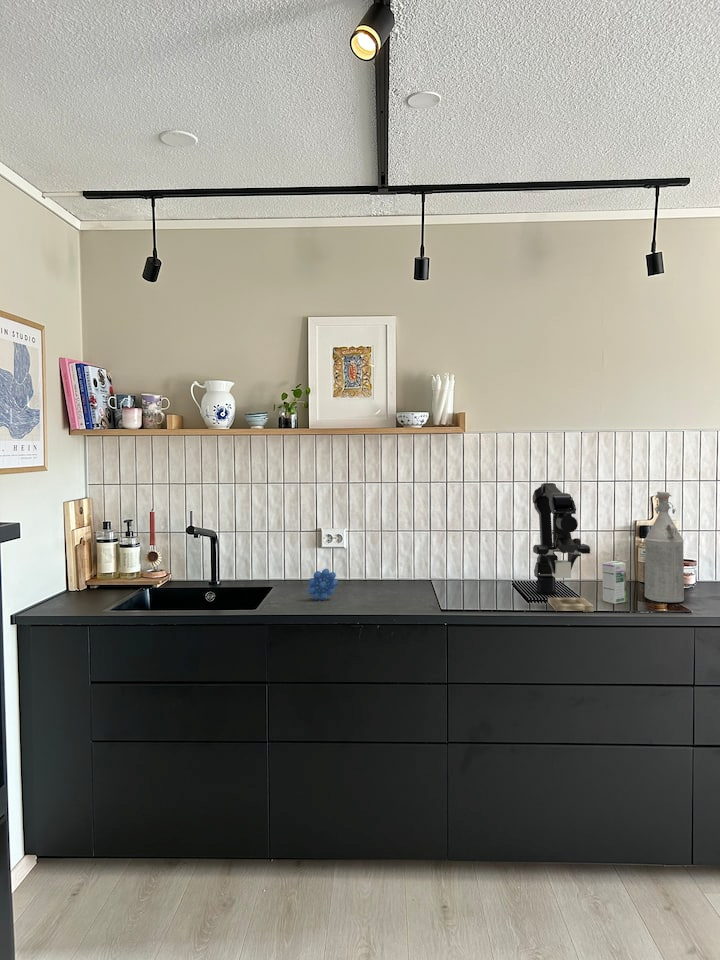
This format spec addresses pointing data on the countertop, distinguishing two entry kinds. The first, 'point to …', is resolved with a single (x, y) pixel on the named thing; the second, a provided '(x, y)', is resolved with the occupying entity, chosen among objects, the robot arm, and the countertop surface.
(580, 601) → the socket block
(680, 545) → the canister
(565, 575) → the cream block
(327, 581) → the grapes
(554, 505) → the robot arm
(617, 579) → the syrup box
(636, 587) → the countertop surface
